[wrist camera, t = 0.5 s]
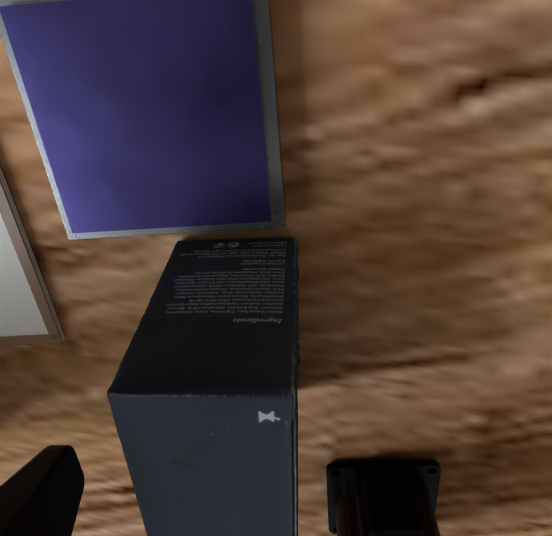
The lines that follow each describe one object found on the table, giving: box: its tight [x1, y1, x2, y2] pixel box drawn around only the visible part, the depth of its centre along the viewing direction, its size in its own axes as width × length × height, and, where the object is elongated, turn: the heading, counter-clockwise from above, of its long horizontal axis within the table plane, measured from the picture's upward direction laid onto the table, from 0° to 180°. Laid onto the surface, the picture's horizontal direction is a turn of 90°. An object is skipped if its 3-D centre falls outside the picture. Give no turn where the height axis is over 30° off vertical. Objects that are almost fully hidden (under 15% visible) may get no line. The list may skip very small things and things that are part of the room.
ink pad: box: [0, 0, 286, 240], centre depth 18 cm, size 9×9×2 cm
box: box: [107, 238, 300, 536], centre depth 19 cm, size 9×6×10 cm, turn 2°
